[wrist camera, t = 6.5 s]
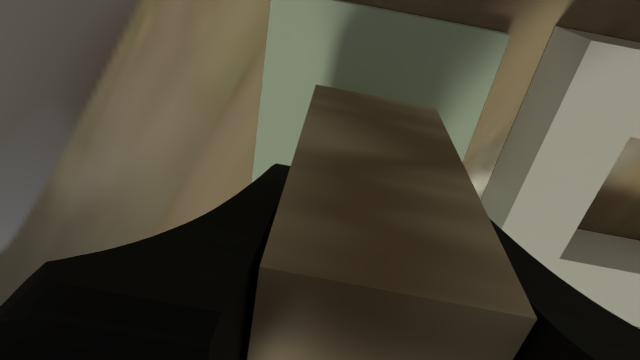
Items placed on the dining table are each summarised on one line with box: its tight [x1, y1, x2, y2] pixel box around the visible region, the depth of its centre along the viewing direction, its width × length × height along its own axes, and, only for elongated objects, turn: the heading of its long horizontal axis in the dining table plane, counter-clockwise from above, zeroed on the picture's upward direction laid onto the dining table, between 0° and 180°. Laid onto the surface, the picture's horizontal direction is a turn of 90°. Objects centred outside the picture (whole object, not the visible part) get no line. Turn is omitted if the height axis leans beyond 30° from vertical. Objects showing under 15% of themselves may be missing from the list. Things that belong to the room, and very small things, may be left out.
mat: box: [252, 0, 511, 182], centre depth 16 cm, size 8×9×1 cm
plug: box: [247, 85, 537, 360], centre depth 11 cm, size 4×4×9 cm
